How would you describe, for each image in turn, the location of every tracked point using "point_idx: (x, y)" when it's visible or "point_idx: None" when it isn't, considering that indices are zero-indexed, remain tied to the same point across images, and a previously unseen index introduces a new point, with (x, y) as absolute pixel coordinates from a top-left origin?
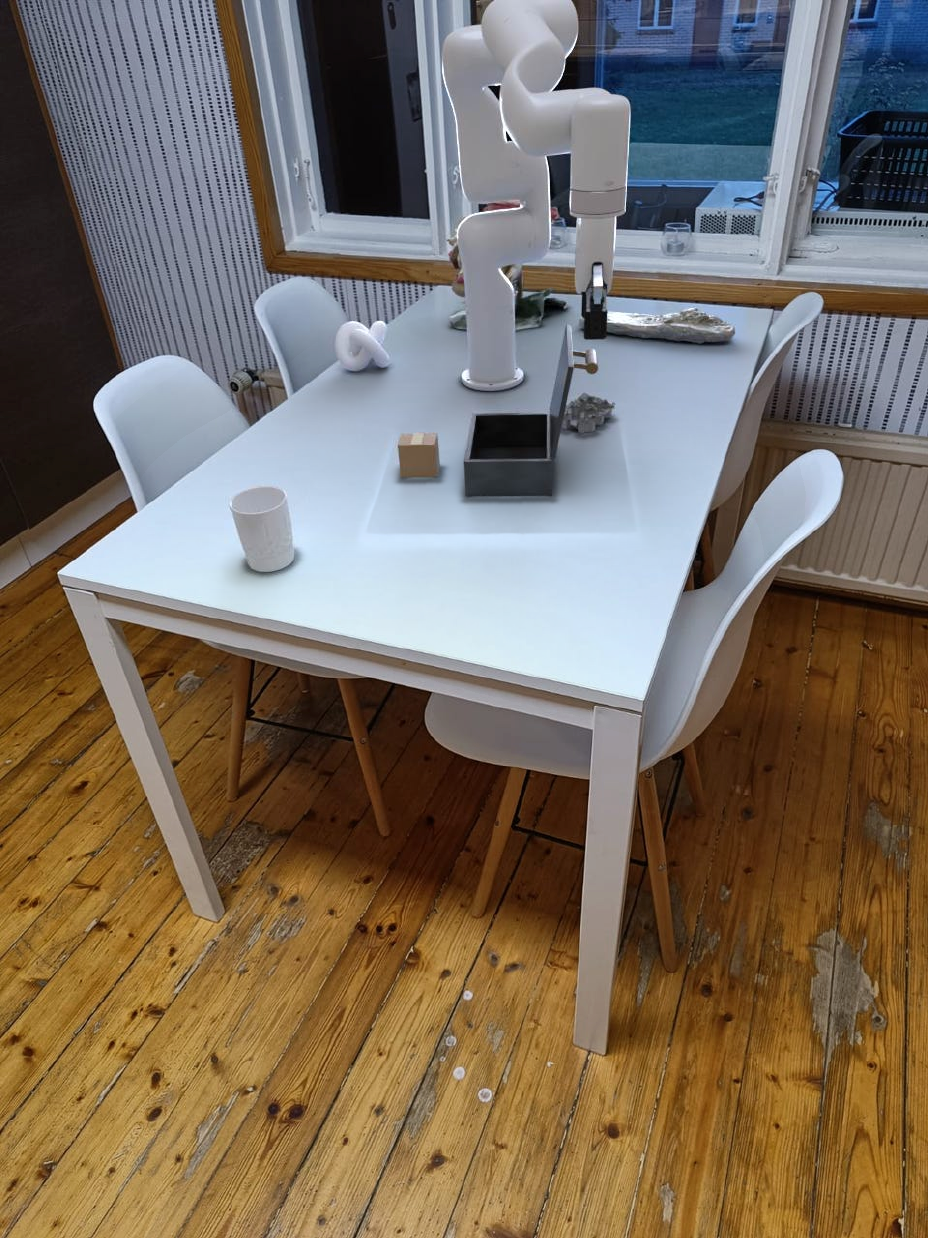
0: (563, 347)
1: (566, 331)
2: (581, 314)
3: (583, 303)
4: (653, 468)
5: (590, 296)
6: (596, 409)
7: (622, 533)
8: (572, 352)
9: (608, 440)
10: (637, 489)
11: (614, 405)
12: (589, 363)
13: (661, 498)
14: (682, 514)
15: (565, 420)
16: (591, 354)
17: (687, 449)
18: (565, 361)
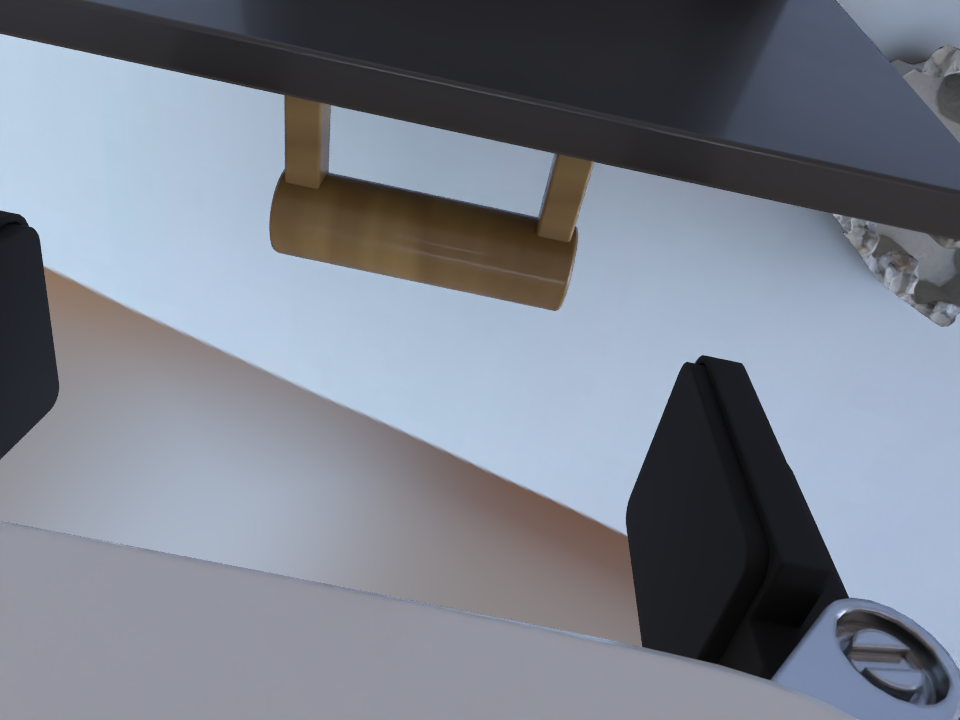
0: (753, 92)
1: (819, 161)
2: (710, 364)
3: (713, 456)
4: (476, 304)
5: (697, 584)
6: (941, 244)
7: (60, 86)
8: (239, 82)
9: (732, 225)
10: None
11: (930, 319)
12: (275, 202)
13: (279, 267)
14: (182, 293)
15: (952, 92)
16: (438, 261)
17: (576, 431)
18: (277, 5)
